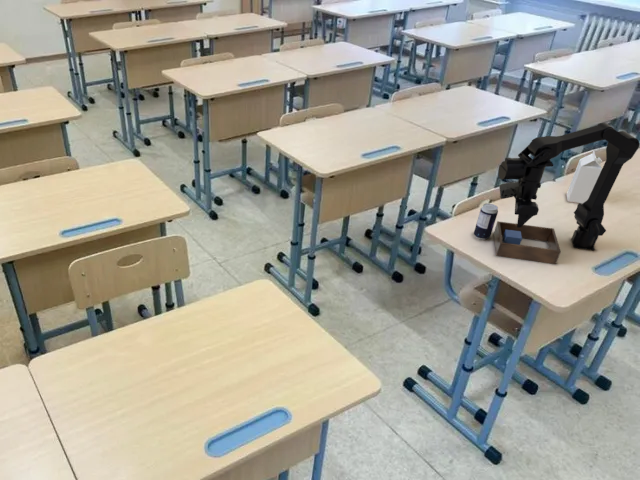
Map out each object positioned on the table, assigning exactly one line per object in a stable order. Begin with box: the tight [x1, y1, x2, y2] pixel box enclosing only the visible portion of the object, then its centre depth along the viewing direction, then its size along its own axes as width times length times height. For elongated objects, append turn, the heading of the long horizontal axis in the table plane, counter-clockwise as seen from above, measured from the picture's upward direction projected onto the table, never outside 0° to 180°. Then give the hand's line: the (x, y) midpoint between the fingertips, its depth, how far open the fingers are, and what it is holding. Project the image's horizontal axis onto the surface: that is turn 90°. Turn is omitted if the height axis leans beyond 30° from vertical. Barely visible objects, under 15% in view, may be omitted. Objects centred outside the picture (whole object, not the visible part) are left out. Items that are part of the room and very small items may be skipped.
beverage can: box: [473, 203, 499, 241], centre depth 194 cm, size 6×6×12 cm
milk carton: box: [566, 150, 603, 204], centre depth 214 cm, size 7×7×19 cm
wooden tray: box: [493, 220, 561, 265], centre depth 190 cm, size 19×16×5 cm
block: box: [502, 229, 523, 245], centre depth 191 cm, size 5×5×5 cm
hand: (517, 220), depth 187 cm, fingers open, 9 cm apart
